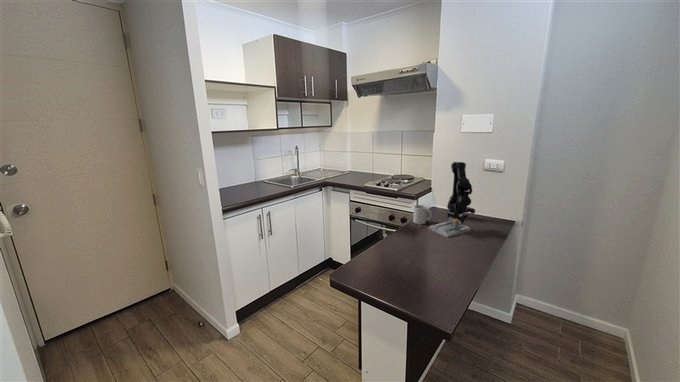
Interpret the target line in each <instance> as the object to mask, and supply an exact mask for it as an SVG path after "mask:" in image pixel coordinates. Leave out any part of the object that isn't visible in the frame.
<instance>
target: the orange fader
mask: <svg viewBox="0 0 680 382" xmlns="http://www.w3.org/2000/svg"><path fill="white" fill-rule="evenodd" d="M452 221H453V223H452V228H454V229H457V228H458V227H459V220H458V219H457V218H455V219H453V220H452Z"/></svg>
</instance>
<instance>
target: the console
mask: <svg viewBox="0 0 680 382" xmlns="http://www.w3.org/2000/svg"><path fill="white" fill-rule="evenodd" d="M428 230H429V231H433V232H434V233H437V234H439V235H441V236H444V237H446V238H449V237H453V236H457V235H459V234H463V233H466V232H467V233H468V232H469V231H471V227H469V226H468V225H464V224H462V225H461V226H460V225H459V227H458V228H457V229H454V228H452V223H450V222H449V220H448V221H444V222H443V221H442V222H439V223H437V224H432V225H429V226H428Z"/></svg>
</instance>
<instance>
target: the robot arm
mask: <svg viewBox="0 0 680 382" xmlns="http://www.w3.org/2000/svg"><path fill="white" fill-rule="evenodd" d="M466 167H467V163H465V162H463V161H453V163H451V165H450V169H451V172H452V173H453V182H452V183H453V185H452V194H451V196H450V197H449V200H448V202H447V206H446V207H447V209H448V212H447V213H446V217H452V218H455V219H458V220H459V225H460V226H461V225H464V223H465V221H466V220H467V218H468V217H469V214H468V213H470V215H471V214H472V215H474V214H476V209H475V208H472V207H470V205H471V204H472V199H471V197H470V195H472V193H473V186H472V183H470V180H469V179H468V177H467V174H466V169H467V168H466Z"/></svg>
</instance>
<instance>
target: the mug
mask: <svg viewBox="0 0 680 382" xmlns="http://www.w3.org/2000/svg"><path fill="white" fill-rule="evenodd" d="M427 213H429V217H427ZM432 216H433V214H432V210H430V209H428V208H427V206H426V205H422V204H420V205H419V204H417V205H414V206H413V216H412V217H413V219H412V221H413V223H414V224H417V225H425V224H427V221H429V220H431V219H432Z"/></svg>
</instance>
